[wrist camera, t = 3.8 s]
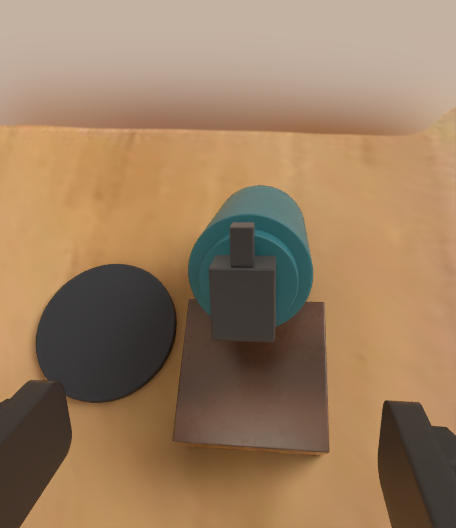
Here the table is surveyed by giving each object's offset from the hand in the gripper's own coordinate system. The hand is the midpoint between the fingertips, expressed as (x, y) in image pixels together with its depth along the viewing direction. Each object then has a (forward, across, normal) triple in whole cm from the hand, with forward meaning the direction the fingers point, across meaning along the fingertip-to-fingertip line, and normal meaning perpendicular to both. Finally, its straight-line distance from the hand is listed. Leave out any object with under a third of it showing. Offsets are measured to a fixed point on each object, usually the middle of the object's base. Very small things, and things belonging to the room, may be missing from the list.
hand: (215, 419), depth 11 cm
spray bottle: (+18, 0, +4) cm, 19 cm away
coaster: (+16, +10, +6) cm, 20 cm away
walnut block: (+14, 0, +8) cm, 16 cm away
